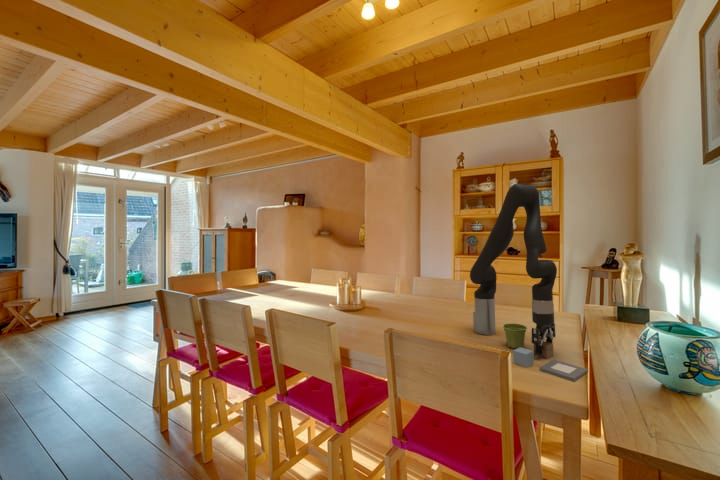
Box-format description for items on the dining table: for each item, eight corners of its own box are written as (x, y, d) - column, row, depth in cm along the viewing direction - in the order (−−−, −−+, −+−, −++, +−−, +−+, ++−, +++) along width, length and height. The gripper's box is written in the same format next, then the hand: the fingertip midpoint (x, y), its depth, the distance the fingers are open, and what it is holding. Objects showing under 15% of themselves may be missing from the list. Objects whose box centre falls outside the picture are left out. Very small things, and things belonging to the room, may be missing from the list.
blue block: (513, 363, 120) (513, 350, 120) (520, 360, 123) (520, 347, 123) (526, 367, 116) (526, 354, 116) (533, 364, 119) (533, 350, 119)
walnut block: (533, 355, 127) (533, 343, 127) (540, 352, 130) (539, 340, 130) (547, 359, 123) (546, 346, 123) (553, 355, 126) (552, 343, 126)
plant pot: (514, 352, 131) (513, 331, 131) (498, 344, 140) (497, 324, 140) (533, 348, 133) (532, 328, 133) (516, 341, 143) (515, 322, 142)
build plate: (539, 370, 114) (539, 367, 114) (554, 362, 120) (554, 359, 120) (574, 381, 105) (574, 378, 105) (588, 372, 111) (588, 368, 111)
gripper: (541, 306, 133) (543, 344, 133) (523, 312, 125) (525, 353, 125) (561, 309, 127) (562, 349, 127) (544, 315, 119) (545, 359, 119)
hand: (544, 351), depth 126 cm, fingers open, 8 cm apart
